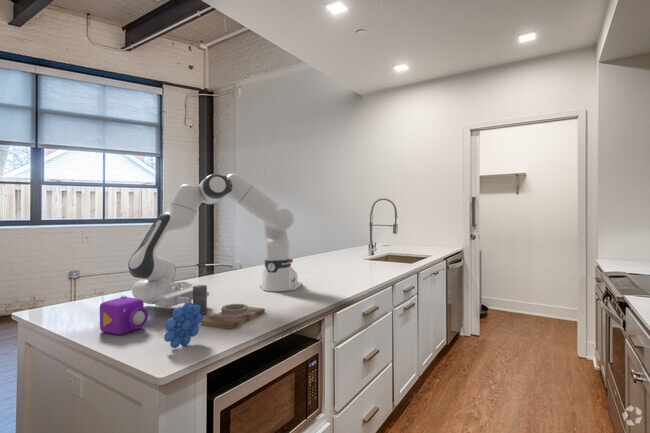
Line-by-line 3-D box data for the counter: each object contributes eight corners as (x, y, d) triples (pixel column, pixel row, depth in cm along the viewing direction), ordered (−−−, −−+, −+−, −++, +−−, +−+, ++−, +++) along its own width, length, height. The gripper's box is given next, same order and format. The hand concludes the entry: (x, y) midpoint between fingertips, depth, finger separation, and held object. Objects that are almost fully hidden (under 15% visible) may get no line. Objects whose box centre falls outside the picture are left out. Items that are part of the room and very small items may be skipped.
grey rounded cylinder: (199, 311, 134) (199, 284, 134) (209, 312, 133) (209, 285, 133) (190, 314, 130) (189, 287, 130) (200, 316, 128) (200, 288, 128)
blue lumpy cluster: (193, 336, 108) (193, 296, 108) (207, 341, 104) (207, 299, 104) (155, 348, 99) (155, 304, 98) (169, 354, 95) (169, 308, 94)
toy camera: (133, 338, 107) (132, 304, 106) (93, 335, 109) (93, 302, 109) (157, 326, 117) (156, 295, 117) (120, 323, 120) (120, 293, 120)
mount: (237, 309, 137) (237, 298, 137) (264, 312, 133) (264, 301, 133) (201, 324, 119) (201, 312, 119) (231, 329, 114) (231, 316, 114)
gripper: (146, 291, 127) (177, 295, 122) (188, 280, 146) (216, 283, 141) (147, 309, 127) (178, 313, 122) (188, 296, 146) (217, 299, 141)
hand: (199, 297), depth 131 cm, fingers open, 8 cm apart
